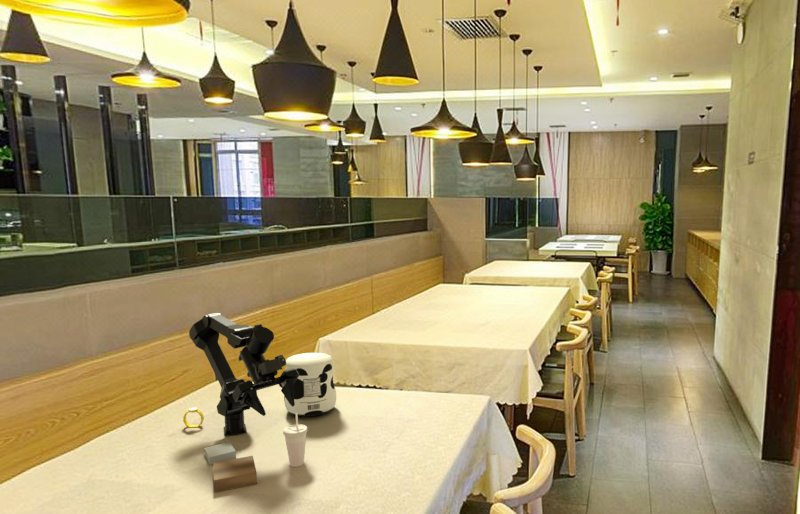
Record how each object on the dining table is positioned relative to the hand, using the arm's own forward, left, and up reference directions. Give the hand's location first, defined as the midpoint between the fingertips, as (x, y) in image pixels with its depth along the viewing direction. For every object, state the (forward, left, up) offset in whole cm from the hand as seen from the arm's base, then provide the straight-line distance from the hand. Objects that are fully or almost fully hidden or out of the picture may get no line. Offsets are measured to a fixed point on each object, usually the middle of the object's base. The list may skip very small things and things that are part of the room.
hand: (279, 410), depth 150 cm
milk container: (-30, +14, -13) cm, 36 cm away
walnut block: (+9, -13, -13) cm, 20 cm away
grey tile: (-6, -16, -13) cm, 21 cm away
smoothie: (+7, +3, -13) cm, 15 cm away
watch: (-32, -23, -13) cm, 42 cm away
